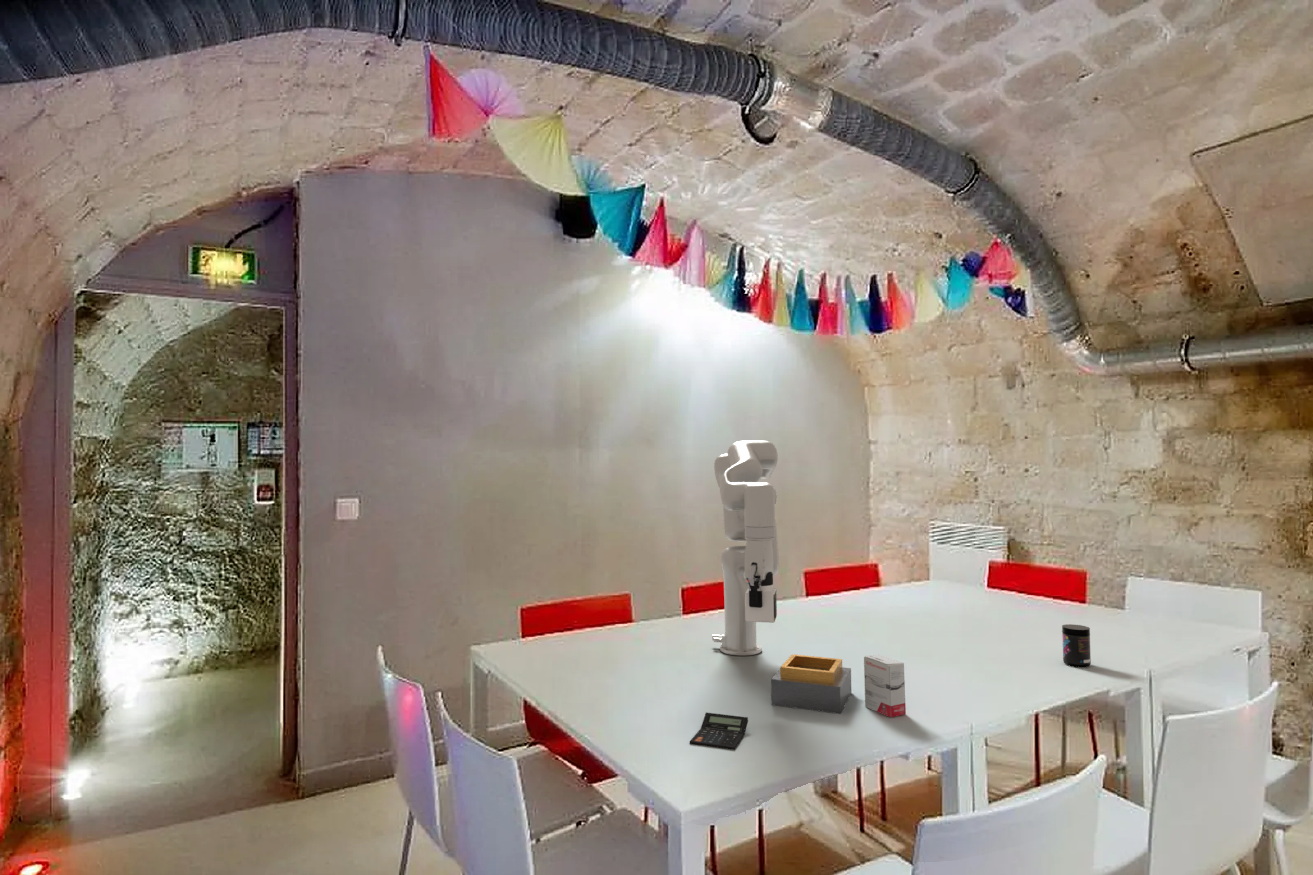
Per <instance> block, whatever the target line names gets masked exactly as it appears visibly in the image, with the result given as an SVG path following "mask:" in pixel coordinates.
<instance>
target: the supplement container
mask: <svg viewBox="0 0 1313 875" xmlns="http://www.w3.org/2000/svg"><path fill="white" fill-rule="evenodd" d="M1061 632H1062V637H1061V638H1062V661H1063V664H1064V665H1066V664H1067V665H1066V666H1068V665H1070V666H1069V667H1072V666H1074V667H1073V668H1078V667H1086V668H1089V667H1091V665H1092V662H1091V661H1092V659H1091V628H1090V627H1089V626H1086V625H1081V624H1071V623H1070V624H1069V623H1068V624H1062V625H1061Z"/></svg>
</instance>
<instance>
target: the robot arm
mask: <svg viewBox="0 0 1313 875" xmlns="http://www.w3.org/2000/svg"><path fill="white" fill-rule="evenodd" d="M777 450H778V449H777V448H776V446H775V444H774V443H773V442H771V441H769V440H739V441H735V442H734V443H731V445H730V446H729V447H728V449H727V452H726V453H724V454H721V455H718V456H717V457H716V458H715V460H714V463H713V464H714V466H713V468H714V475H715V480H716V483H717V485H718V486H717V487H718V488H719V493H720V499H721V503H722V505H723V506H722V507H723V509H722V510H723V525H724V527H723V529H724V534H725V537H726V539H727V540H728V541H731V542H741V543H744V542H745V543H746V544H745V545H733V546H729V547H726V548H725V549H723V550H722V552H721V554H720V564H721V569H722V577H723V579H722V580H723V596H724V601H723V602H724V633H723V634H721V635H720V634H714V633H713V634H712V636H711V637H712V641H713V643H720V646H719V650H720V652H722V653H724V654H726V655H731V656H742V657H743V656H744V657H745V656H753V655H754V656H755V655H757V654H758V655H759V654H761V652H762V648H763V647H762V646H761V645H760V644H758V643H757V622H747V621H746V620H745V593H746V591H747V590H748V588H749V606H750V607H756V608H761V607H762V591H761V585H762V581H763V580H765V579H766V575H767V573H768V572H772V573H773V577H774V576H776V575H777V574H778V572H779V568H780V562H779V558H780V557H779V545H778V531H777V523H776V517H775V516H776V515H775V514H776V512H775V511H776V510H775V508H776V507H775V506H776V505H777V498H778V497H777V496H778V495H777V490H776V488H775V487H774V486H773V484H772V483H770V482H766V480H768V479H769V478H770V477H771V476H772V474H773V472H775V469H776V467H777V464H778V451H777ZM761 481H764V482H761ZM755 576H758V577H760V578H755ZM757 582H758V584H757Z"/></svg>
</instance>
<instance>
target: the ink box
mask: <svg viewBox="0 0 1313 875" xmlns="http://www.w3.org/2000/svg"><path fill="white" fill-rule="evenodd" d="M863 668H864V670H863V671H864V673H863V674H864V676H863V677H864V702H865V703H864V707H865V708H867V709H869V710H872V711H875V712H877V713H880V714H882V715H883V716H884V715H885V716H886V717H889V718H896V717H899V716H905V715H906V714H907V713H906V710H907V708H906V686H905V685H906V683H905V682H906V681H905V663H904V662H902V661H899V660H896V659H893V658H890V657H888V656H885V655H882V654H873V655H870V654H868V655H865V656H864V657H863Z"/></svg>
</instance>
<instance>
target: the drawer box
mask: <svg viewBox="0 0 1313 875" xmlns="http://www.w3.org/2000/svg"><path fill="white" fill-rule="evenodd" d="M770 691H771V692H770V696H771V698H770V701H771V703H770V704H771V706H778V707H784V708H785V707H786V708H793V709H799V710H807V711H809V710H810V711H817V712H823V713H830V714H831V713H833V714H840V715H841V714H842V713H843V712H842V711H843V710H844V708H845V707H846V704H847V703H848V701H849V699H850V697H851V694H852V668H851V667H845V666H844V667H843V659H842V658H832V657H825V656H815V655H804V654H793V653H792V654H790V656H789V657H788V658H787V660H785V662H783V663H782V665H781V666H780V668H779V670H778V671H777V672H776V673H775V674H774V675H773V676H772V677H771V679H770Z"/></svg>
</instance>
